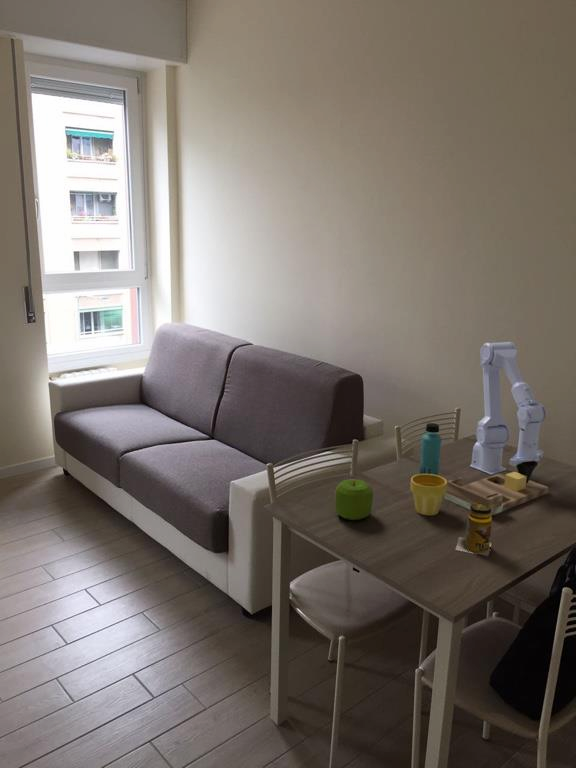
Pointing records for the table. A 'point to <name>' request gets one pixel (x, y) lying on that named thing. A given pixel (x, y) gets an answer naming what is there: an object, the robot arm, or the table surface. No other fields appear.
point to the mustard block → (515, 481)
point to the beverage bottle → (430, 450)
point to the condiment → (477, 530)
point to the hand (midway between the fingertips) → (523, 482)
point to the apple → (353, 499)
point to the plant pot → (428, 492)
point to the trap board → (492, 493)
